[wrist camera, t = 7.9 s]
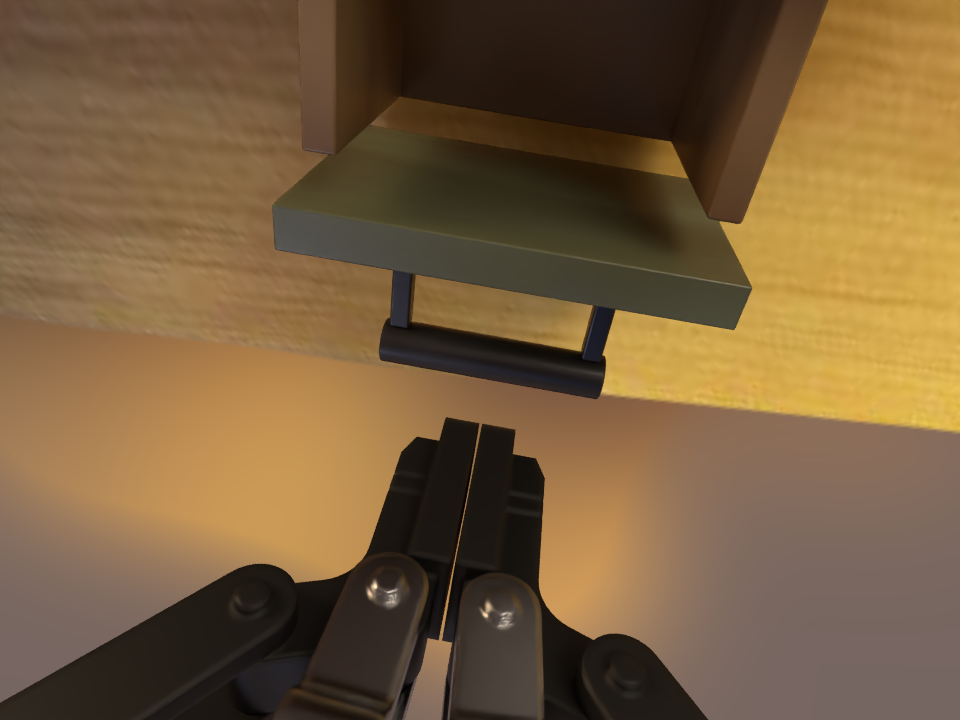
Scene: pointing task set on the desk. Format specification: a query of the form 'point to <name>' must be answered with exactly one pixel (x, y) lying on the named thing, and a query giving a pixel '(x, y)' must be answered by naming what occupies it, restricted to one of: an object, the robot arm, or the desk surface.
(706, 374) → the desk surface
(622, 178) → the drawer
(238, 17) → the desk surface
